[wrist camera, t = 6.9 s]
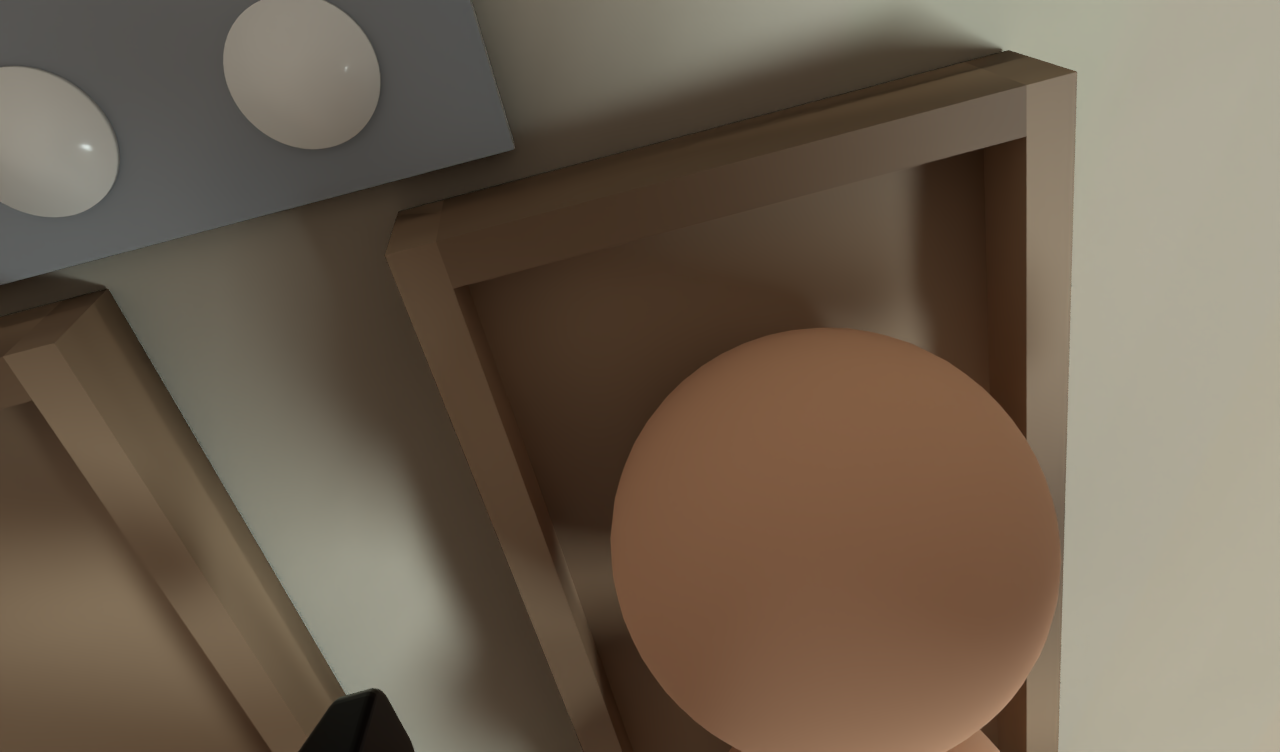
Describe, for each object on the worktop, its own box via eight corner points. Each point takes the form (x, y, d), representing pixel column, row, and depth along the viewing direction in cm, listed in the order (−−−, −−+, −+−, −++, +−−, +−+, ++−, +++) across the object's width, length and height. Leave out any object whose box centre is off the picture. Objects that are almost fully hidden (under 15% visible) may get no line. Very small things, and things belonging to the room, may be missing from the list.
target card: (514, 141, 9) (514, 151, 9) (-43, 288, 9) (-65, 305, 9) (437, -113, 8) (435, -114, 8) (-202, 53, 8) (-235, 61, 8)
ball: (941, 516, 12) (1153, 801, 8) (633, 602, 12) (704, 932, 8) (922, 219, 10) (1198, 420, 6) (545, 323, 10) (587, 593, 6)
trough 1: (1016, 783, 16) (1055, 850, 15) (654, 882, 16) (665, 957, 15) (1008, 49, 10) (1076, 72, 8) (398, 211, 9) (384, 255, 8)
